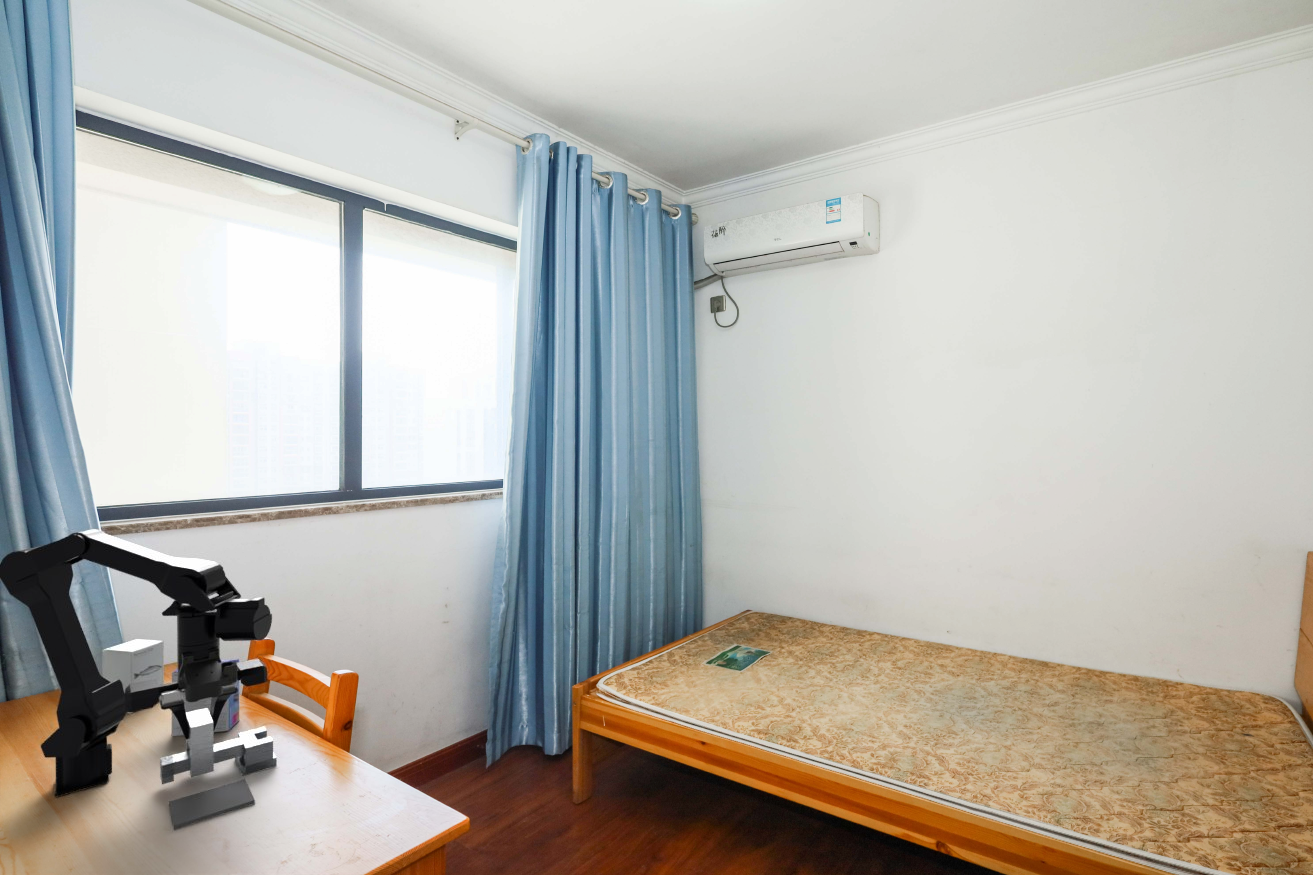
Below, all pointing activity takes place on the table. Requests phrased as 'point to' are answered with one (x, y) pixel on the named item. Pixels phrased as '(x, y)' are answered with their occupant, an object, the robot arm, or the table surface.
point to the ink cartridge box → (226, 717)
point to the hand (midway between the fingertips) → (199, 735)
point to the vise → (229, 755)
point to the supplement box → (134, 662)
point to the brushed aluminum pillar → (200, 742)
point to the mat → (210, 803)
